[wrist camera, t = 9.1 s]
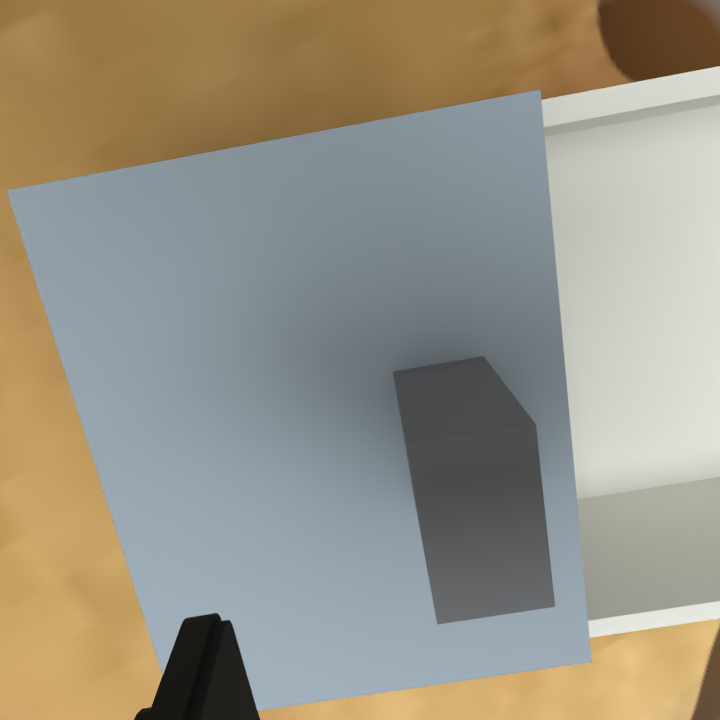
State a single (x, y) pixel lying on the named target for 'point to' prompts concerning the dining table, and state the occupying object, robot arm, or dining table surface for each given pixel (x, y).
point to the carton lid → (331, 396)
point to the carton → (642, 341)
